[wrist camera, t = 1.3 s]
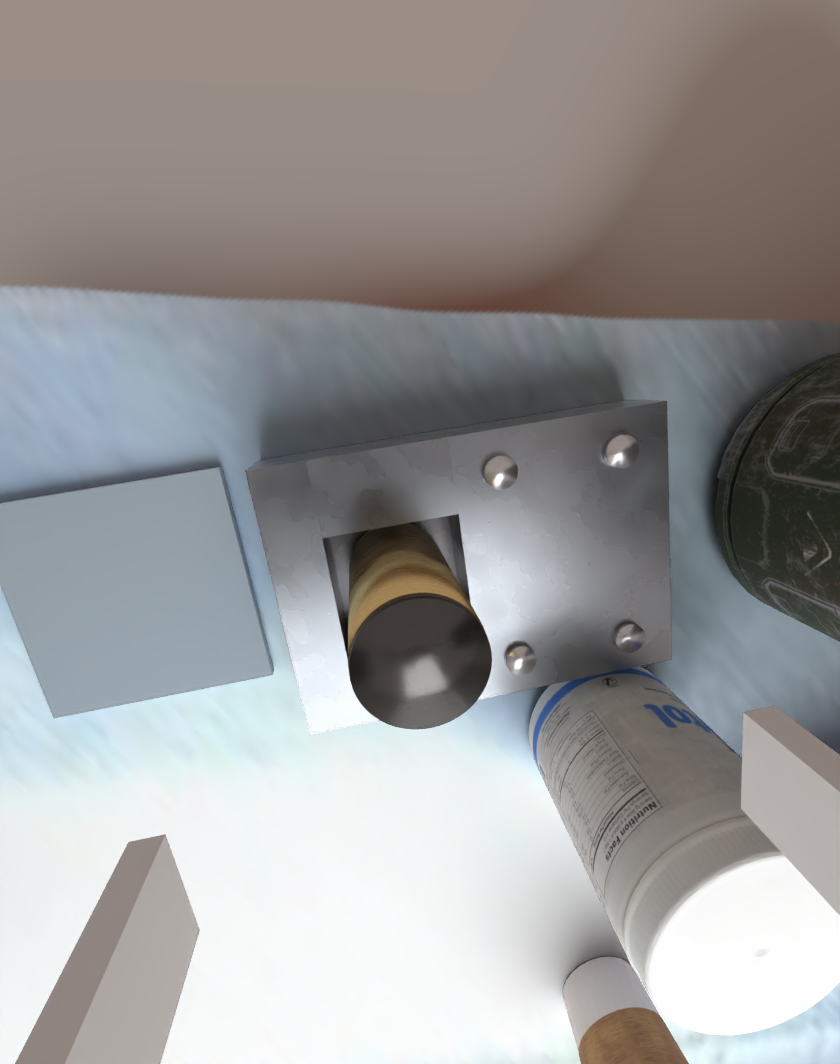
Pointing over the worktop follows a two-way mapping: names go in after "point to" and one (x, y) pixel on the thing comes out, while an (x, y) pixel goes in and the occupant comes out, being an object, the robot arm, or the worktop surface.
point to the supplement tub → (682, 856)
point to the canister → (787, 498)
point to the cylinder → (412, 631)
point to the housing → (485, 542)
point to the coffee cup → (616, 1016)
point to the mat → (131, 591)
